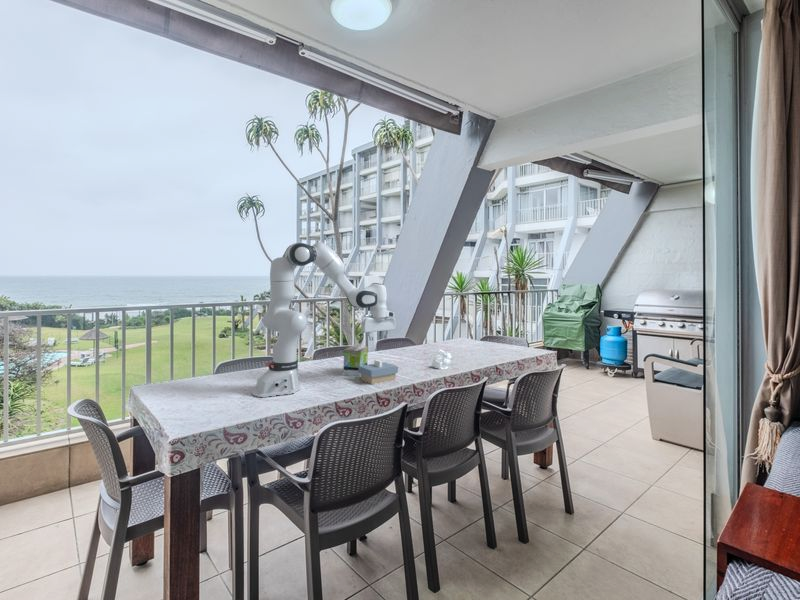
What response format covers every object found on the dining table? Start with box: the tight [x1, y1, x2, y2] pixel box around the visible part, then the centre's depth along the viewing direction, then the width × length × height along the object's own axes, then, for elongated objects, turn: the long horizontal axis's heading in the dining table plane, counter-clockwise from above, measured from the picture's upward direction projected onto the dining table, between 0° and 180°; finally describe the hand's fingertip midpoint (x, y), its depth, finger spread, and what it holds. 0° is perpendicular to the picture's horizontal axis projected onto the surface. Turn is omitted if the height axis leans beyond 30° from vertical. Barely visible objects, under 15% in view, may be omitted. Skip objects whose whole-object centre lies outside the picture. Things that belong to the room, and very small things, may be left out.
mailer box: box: [360, 373, 397, 385], centre depth 211 cm, size 15×11×7 cm
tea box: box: [342, 345, 369, 377], centre depth 225 cm, size 15×10×15 cm, turn 168°
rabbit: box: [431, 349, 452, 370], centre depth 239 cm, size 12×9×12 cm
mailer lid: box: [358, 359, 399, 377], centre depth 211 cm, size 17×13×6 cm
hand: (378, 339), depth 210 cm, fingers open, 8 cm apart
